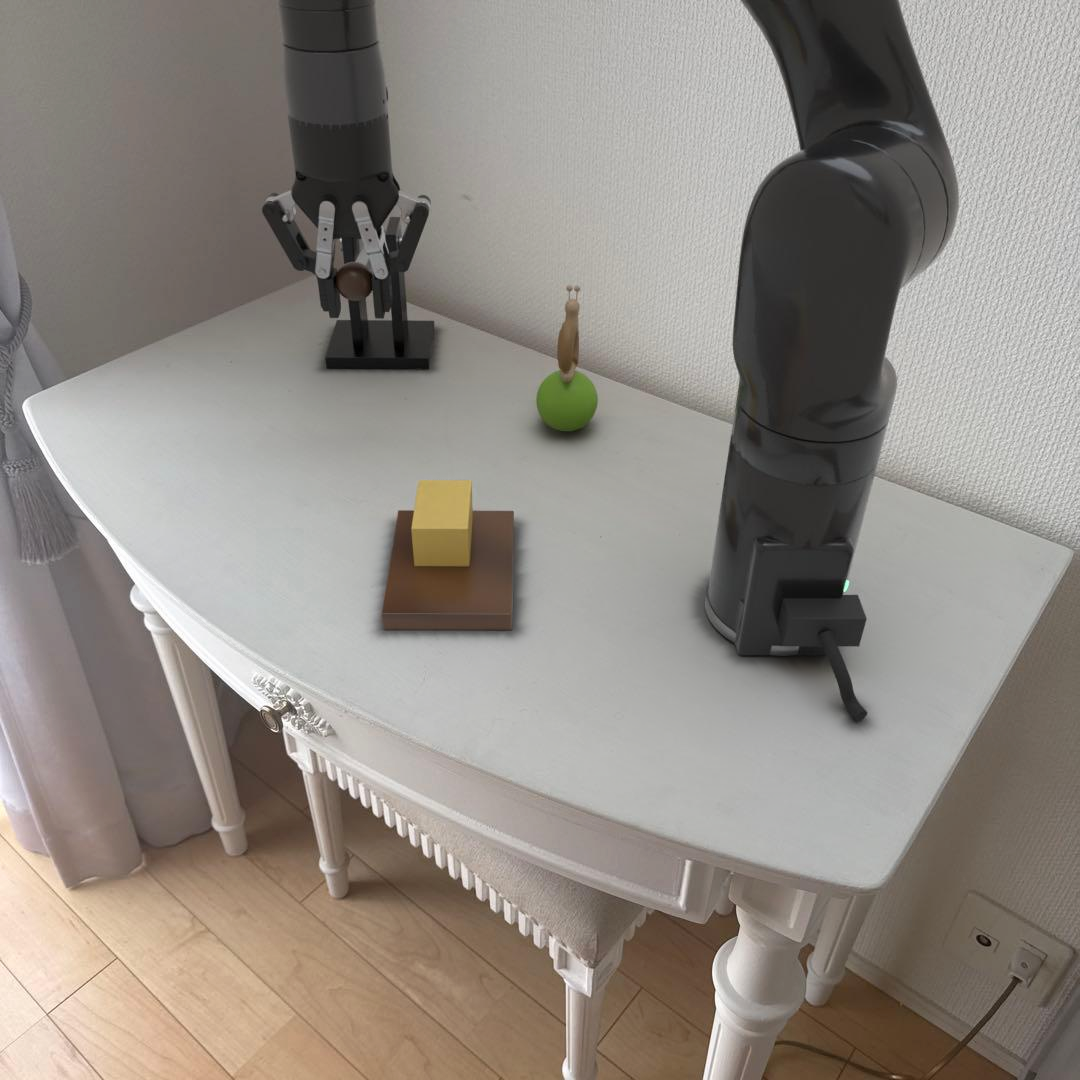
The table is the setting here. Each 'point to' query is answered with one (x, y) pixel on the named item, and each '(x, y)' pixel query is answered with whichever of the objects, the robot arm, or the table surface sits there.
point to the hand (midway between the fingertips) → (358, 313)
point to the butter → (442, 523)
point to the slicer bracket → (380, 324)
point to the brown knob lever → (355, 277)
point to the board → (453, 580)
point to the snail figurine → (567, 380)
